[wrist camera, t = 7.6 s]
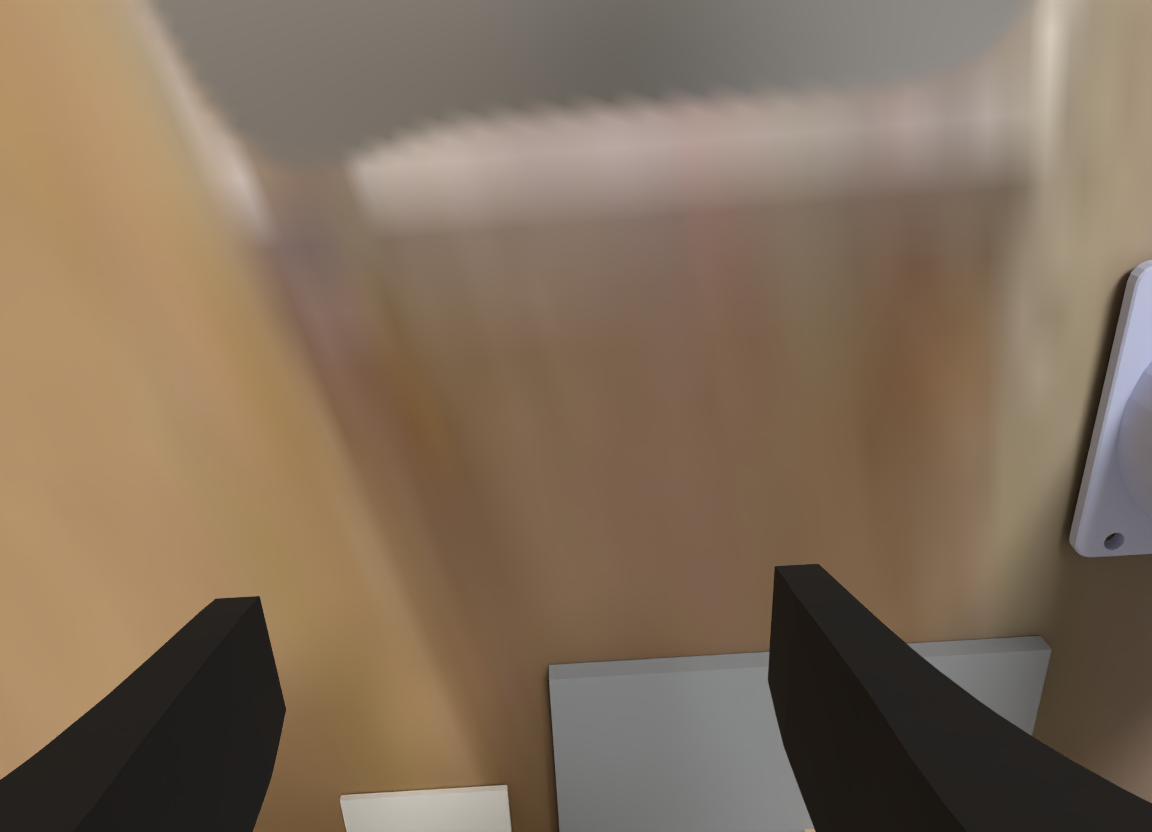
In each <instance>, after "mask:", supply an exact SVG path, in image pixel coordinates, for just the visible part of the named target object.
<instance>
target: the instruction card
mask: <svg viewBox="0 0 1152 832" xmlns="http://www.w3.org/2000/svg"><path fill="white" fill-rule="evenodd" d="M340 804H341V808H342V813H343V818H344V822H345V827H346V832H512V827H511V818H510V808H509V798H508V788H507V785H496V786H480V787H464V788H448V789H432V790H416V791H399V792H383V793H367V794H351V795H341V798H340Z"/></svg>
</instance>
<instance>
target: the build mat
mask: <svg viewBox="0 0 1152 832" xmlns="http://www.w3.org/2000/svg"><path fill="white" fill-rule="evenodd" d="M907 645H909V646H910V647H911V648H912V649H913V650H915V651H916V652H917V653H918V654H919V655H921V656H922V657H923V658H924V659H925V660H927V661H928V662H929V663H930V664H932V665H933V666H934V667H935V668H937V669H938V670H939V671H940V672H942V673H943V674H944V675H946V676H947V677H948V678H950V679H951V680H952V681H954V682H955V683H956V684H958V685H959V686H960V687H961V688H963V689H964V690H965V691H967V692H968V693H969V694H971V695H972V696H973V697H975V698H976V699H977V700H979V701H980V702H982V703H983V704H984V705H986V706H987V707H989V708H990V709H992V710H993V711H994V712H996V713H997V714H999V715H1000V716H1002V717H1003V718H1005V719H1006V720H1008V721H1009V722H1011V723H1013V724H1014V725H1016V726H1017V727H1019V728H1020V729H1022V730H1023V731H1025V732H1026V733H1028V734H1029V735H1031V736H1032V733H1033V729H1034V725H1035V721H1036V716H1037V712H1038V708H1039V703H1040V699H1041V695H1042V690H1043V686H1044V682H1045V677H1046V673H1047V669H1048V664H1049V660H1050V656H1051V652H1052V649H1051V648H1050V646H1049V645H1048V644H1047V643H1046V641H1045V640H1044V639H1043V637H1042V636H1026V637H1010V638H993V639H976V640H959V641H943V642H926V643H909V644H907ZM768 668H769V652H759V653H742V654H725V655H708V656H692V657H675V658H658V659H641V660H625V661H608V662H591V663H574V664H558V665H549V687H550V701H551V716H552V730H553V744H554V759H555V773H556V788H557V802H558V816H559V831H560V832H804V829H814V826H813V824H812V821H811V818H810V816H809V813H808V811H807V808H806V805H805V803H804V800H803V797H802V795H801V792H800V789H799V787H798V784H797V781H796V779H795V776H794V773H793V771H792V768H791V765H790V763H789V760H788V757H787V754H786V751H785V749H784V746H783V742H782V738H781V734H780V730H779V726H778V722H777V718H776V714H775V710H774V705H773V701H772V697H771V692H770V688H769V684H768Z"/></svg>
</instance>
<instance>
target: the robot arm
mask: <svg viewBox="0 0 1152 832" xmlns="http://www.w3.org/2000/svg"><path fill="white" fill-rule="evenodd" d="M1114 533H1115V535H1114V536H1113V537H1112V538H1111V539H1110V540H1108V541H1105V539H1106V538H1107V537H1108V536H1109V535H1111V534H1114ZM1069 542H1070V544H1071V546H1072V547H1073V548H1074V550H1075V551H1076V552H1077V553H1078V554H1080V555H1082V556H1083V557H1106V556H1124V555H1141V554H1152V260H1148V261H1145V262H1143V263H1141V264H1140V265H1138V266H1137V267H1136V268H1135V269H1134V270H1133V271H1132V272H1131V274H1130V276H1129V278H1128V281H1127V285H1126V289H1125V294H1124V298H1123V302H1122V307H1121V311H1120V316H1119V320H1118V324H1117V329H1116V333H1115V338H1114V342H1113V346H1112V351H1111V355H1110V360H1109V364H1108V369H1107V373H1106V377H1105V382H1104V386H1103V391H1102V395H1101V399H1100V404H1099V408H1098V413H1097V417H1096V421H1095V426H1094V430H1093V435H1092V439H1091V443H1090V448H1089V452H1088V457H1087V461H1086V465H1085V470H1084V474H1083V479H1082V483H1081V488H1080V492H1079V496H1078V501H1077V505H1076V510H1075V514H1074V518H1073V523H1072V527H1071V532H1070V536H1069ZM768 684H769V688H770V692H771V697H772V701H773V705H774V710H775V714H776V718H777V722H778V726H779V730H780V734H781V738H782V742H783V746H784V749H785V751H786V754H787V757H788V760H789V763H790V765H791V768H792V771H793V773H794V776H795V779H796V781H797V784H798V787H799V789H800V792H801V795H802V797H803V800H804V803H805V805H806V808H807V811H808V813H809V816H810V818H811V821H812V824H813V826H814V829H815V832H1152V804H1151V803H1149V802H1147V801H1145V800H1144V799H1142V798H1140V797H1138V796H1136V795H1134V794H1132V793H1130V792H1128V791H1126V790H1124V789H1122V788H1120V787H1118V786H1117V785H1115V784H1113V783H1111V782H1109V781H1108V780H1106V779H1104V778H1102V777H1100V776H1099V775H1097V774H1095V773H1093V772H1091V771H1090V770H1088V769H1086V768H1084V767H1082V766H1081V765H1079V764H1077V763H1075V762H1073V761H1072V760H1070V759H1068V758H1067V757H1065V756H1063V755H1062V754H1060V753H1058V752H1056V751H1055V750H1053V749H1051V748H1050V747H1048V746H1047V745H1045V744H1043V743H1042V742H1040V741H1039V740H1037V739H1036V738H1034V737H1032V736H1031V735H1029V734H1028V733H1026V732H1025V731H1023V730H1022V729H1020V728H1019V727H1017V726H1016V725H1014V724H1013V723H1011V722H1009V721H1008V720H1006V719H1005V718H1003V717H1002V716H1000V715H999V714H997V713H996V712H994V711H993V710H992V709H990V708H989V707H987V706H986V705H984V704H983V703H982V702H980V701H979V700H977V699H976V698H975V697H973V696H972V695H971V694H969V693H968V692H967V691H965V690H964V689H963V688H961V687H960V686H959V685H958V684H956V683H955V682H954V681H952V680H951V679H950V678H948V677H947V676H946V675H944V674H943V673H942V672H940V671H939V670H938V669H937V668H935V667H934V666H933V665H932V664H930V663H929V662H928V661H927V660H925V659H924V658H923V657H922V656H921V655H919V654H918V653H917V652H916V651H915V650H913V649H912V648H911V647H910V646H909V645H907V644H906V643H905V642H904V641H903V640H902V639H900V638H899V637H898V636H897V635H896V634H895V633H893V632H892V631H891V630H890V629H889V628H888V627H887V626H885V625H884V624H883V623H882V622H881V621H880V620H879V619H878V618H877V617H875V616H874V615H873V614H872V613H871V612H870V611H869V610H868V609H867V608H866V607H865V606H863V605H862V604H861V603H860V602H859V601H858V600H857V599H856V598H855V597H854V596H853V595H851V594H850V593H849V592H848V591H847V590H846V589H845V588H844V587H843V586H842V585H841V584H840V583H839V582H837V581H836V580H835V579H834V578H833V577H832V576H831V575H830V574H829V573H828V572H827V571H826V570H824V569H823V568H822V567H821V566H820V565H819V564H808V565H790V566H775V573H774V589H773V604H772V620H771V636H770V652H769V668H768ZM285 711H286V707H285V703H284V699H283V695H282V690H281V686H280V682H279V677H278V673H277V669H276V665H275V660H274V656H273V652H272V647H271V643H270V639H269V635H268V630H267V626H266V622H265V618H264V613H263V609H262V605H261V600H260V596H256V597H238V598H221V599H215V600H214V601H212V602H211V603H210V604H209V605H208V606H206V607H205V608H204V609H203V610H202V611H201V612H199V613H198V614H197V615H196V616H195V617H194V618H193V619H192V620H191V621H189V622H188V623H187V624H186V625H185V626H184V627H183V628H182V629H181V630H180V631H178V632H177V633H176V634H175V635H174V636H173V637H172V638H171V639H170V640H169V641H168V642H166V643H165V644H164V645H163V646H162V647H161V648H160V649H159V650H158V651H157V652H155V653H154V654H153V655H152V656H151V657H150V658H149V659H148V660H147V661H145V662H144V663H143V664H142V665H141V666H140V667H139V668H138V669H136V670H135V671H134V672H133V673H132V674H131V675H130V676H129V677H128V678H126V679H125V680H124V681H123V682H122V683H121V684H120V685H119V686H117V687H116V688H115V689H114V690H113V691H112V692H111V693H110V694H108V695H107V696H106V697H105V698H104V699H102V700H101V701H100V702H99V703H98V704H96V705H95V706H94V707H93V708H92V709H90V710H89V711H88V712H87V713H85V714H84V715H83V716H82V717H81V718H79V719H78V720H77V721H76V722H74V723H73V724H72V725H71V726H70V727H68V728H67V729H66V730H65V731H63V732H62V733H61V734H60V735H59V736H57V737H56V738H55V739H54V740H53V741H51V742H50V743H49V744H48V745H46V746H45V747H44V748H43V749H41V750H40V751H39V752H37V753H36V754H35V755H34V756H32V757H31V758H30V759H28V760H27V761H26V762H24V763H23V764H22V765H20V766H19V767H18V768H16V769H15V770H14V771H12V772H11V773H9V774H8V775H7V776H5V777H4V778H3V779H1V780H0V832H253V829H254V826H255V823H256V820H257V817H258V815H259V812H260V809H261V806H262V803H263V800H264V798H265V795H266V792H267V789H268V786H269V783H270V780H271V777H272V772H273V768H274V764H275V759H276V755H277V751H278V746H279V741H280V736H281V731H282V726H283V721H284V716H285Z"/></svg>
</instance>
